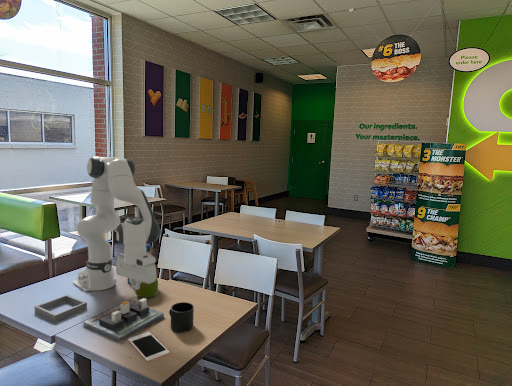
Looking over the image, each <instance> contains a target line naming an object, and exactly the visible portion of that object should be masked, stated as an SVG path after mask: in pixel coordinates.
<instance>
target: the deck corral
mask: <svg viewBox="0 0 512 386" xmlns="http://www.w3.org/2000/svg"><path fill="white" fill-rule="evenodd" d="M64 303H68V304H71V305H73V306H72V307H70V308H67V309H65V310H62V311H60V312H57V313H55V312H52V311H50V310H49V309H51V307H52V308H53V307H56V306H59V305H61V304H64ZM48 308H49V309H48ZM87 309H88V302H86V301H84V300H81V299H79V298H77V297H74V296H71V295H69V294H65V295H62V296H60V297H57V298H54V299H51V300H48V301H46V302H43V303H40V304H38V305H35V306H34V313H35V314H36V313H37V315H38V314H39V316H41V317H43V318H45V319H47V320H49V321H52V322H53V323H57V322H59V321H61V320H63V319H66V318H68V317H71V316H73V315H75V314H78V313H80V312H82V311H85V310H87Z"/></svg>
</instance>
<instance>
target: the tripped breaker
mask: <svg viewBox="0 0 512 386" xmlns="http://www.w3.org/2000/svg"><path fill="white" fill-rule="evenodd" d="M128 301H129V300H124V301H122V302H120V305H121V313H122V314H125V313H127V312H129V302H128Z"/></svg>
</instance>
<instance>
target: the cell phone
mask: <svg viewBox="0 0 512 386" xmlns="http://www.w3.org/2000/svg"><path fill="white" fill-rule="evenodd" d="M127 339H128V342H129V343H130V344H131V346H132V347H133V348H134V349H135V350H136V351H137V352H138V354H140V356H141V357H142V358H143V359H144V361H145V362H148V363H149V362H152V361H153V360H156V359H159V358H161V357H164V356H167V355H169V354H170V351H169V350H168V349H167V348H166V346H164V345H163V344H162V343H161V341H160V340H158V339H157V337H155V336H154V335H153V334H152V333H151V332H150V331H147V332H144V333H140V334H138V335H134V336H130V337H128V338H127Z"/></svg>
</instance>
